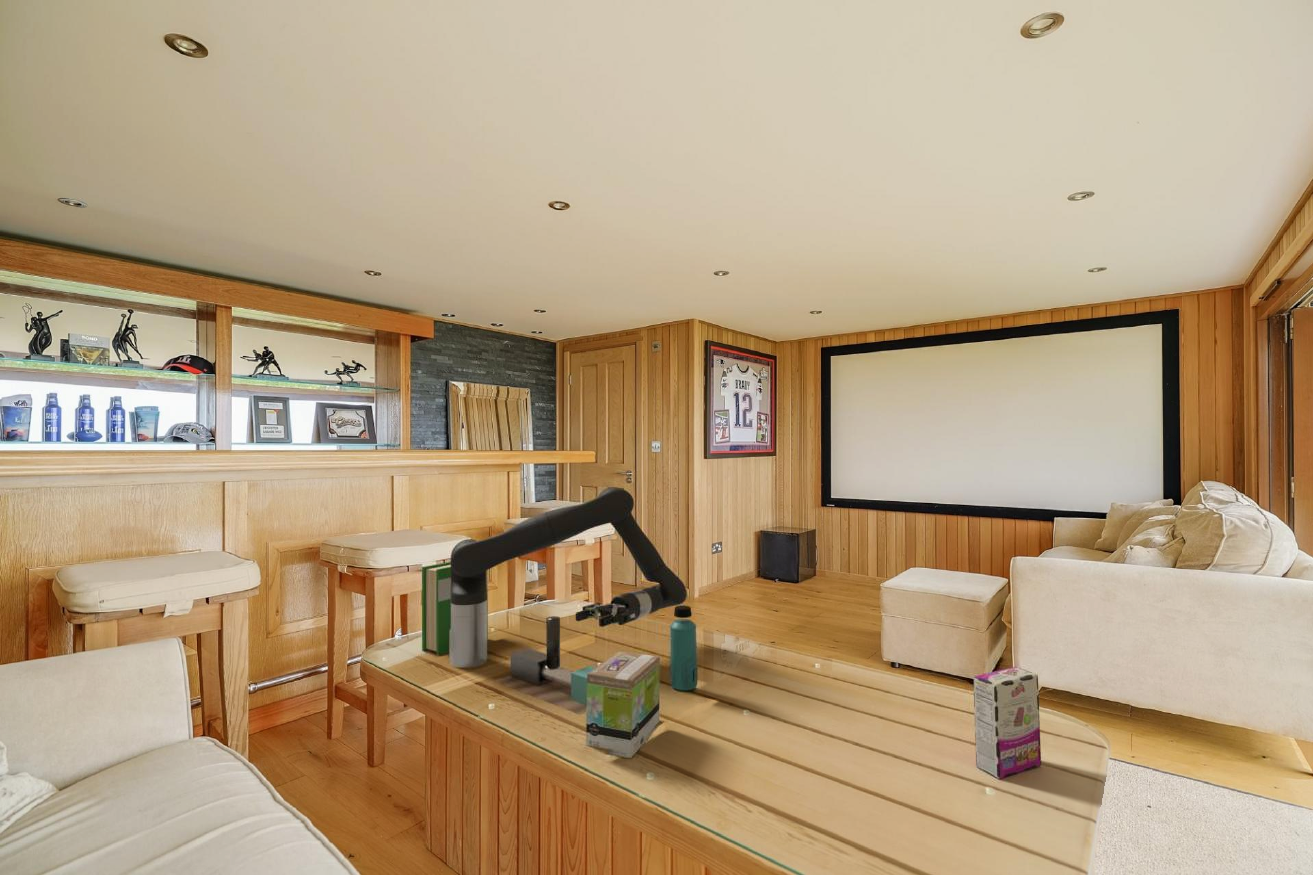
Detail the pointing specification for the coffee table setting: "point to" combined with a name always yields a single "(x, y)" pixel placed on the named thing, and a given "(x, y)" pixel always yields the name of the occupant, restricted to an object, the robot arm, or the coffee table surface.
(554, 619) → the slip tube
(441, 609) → the hardback book
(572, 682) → the socket
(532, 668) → the grey block
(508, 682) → the base board
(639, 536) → the robot arm
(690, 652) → the beverage bottle
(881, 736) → the coffee table surface
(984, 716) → the candy bar box
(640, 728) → the tea box
